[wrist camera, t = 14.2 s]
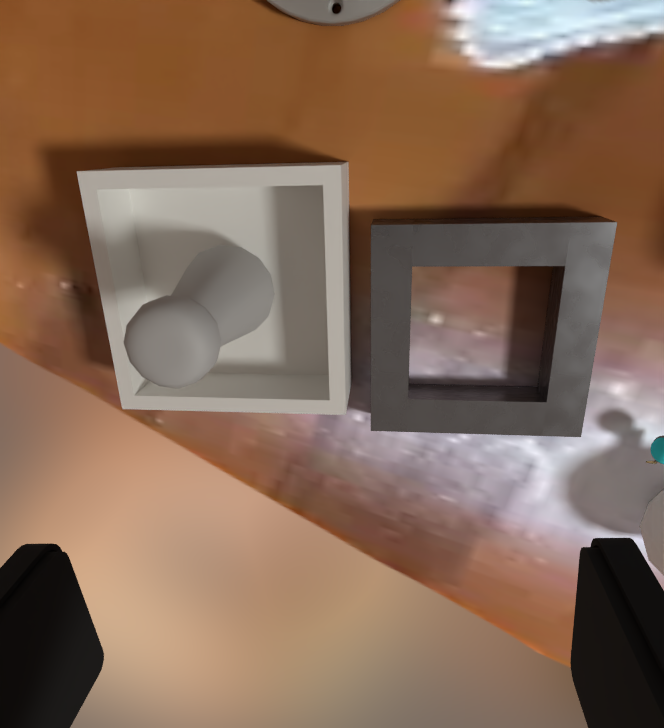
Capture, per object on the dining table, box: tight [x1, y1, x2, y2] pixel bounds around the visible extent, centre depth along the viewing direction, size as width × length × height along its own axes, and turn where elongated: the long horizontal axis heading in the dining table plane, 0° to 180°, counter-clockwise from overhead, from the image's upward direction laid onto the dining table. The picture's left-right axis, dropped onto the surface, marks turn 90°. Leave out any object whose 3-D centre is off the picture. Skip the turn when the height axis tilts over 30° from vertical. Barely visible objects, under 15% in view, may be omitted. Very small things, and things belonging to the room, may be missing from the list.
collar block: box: [371, 217, 617, 437], centre depth 35 cm, size 14×14×2 cm
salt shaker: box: [124, 245, 275, 389], centre depth 30 cm, size 6×6×13 cm
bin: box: [77, 162, 352, 415], centre depth 35 cm, size 15×15×5 cm
